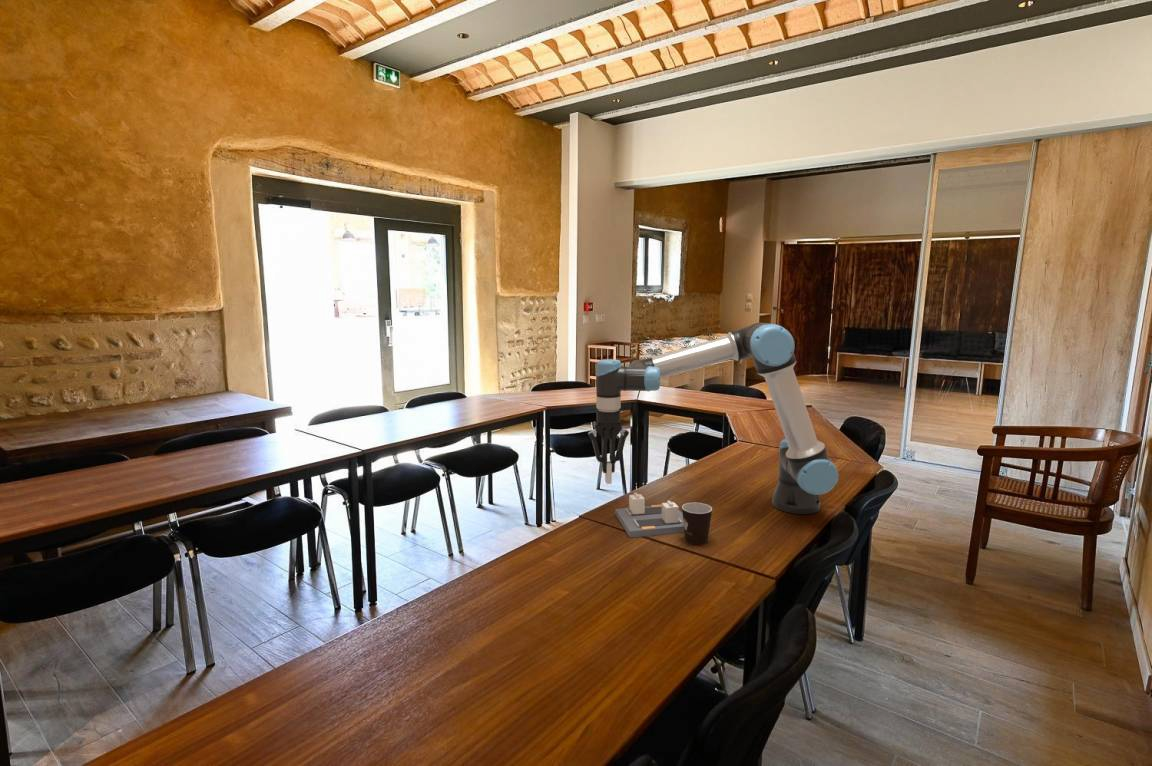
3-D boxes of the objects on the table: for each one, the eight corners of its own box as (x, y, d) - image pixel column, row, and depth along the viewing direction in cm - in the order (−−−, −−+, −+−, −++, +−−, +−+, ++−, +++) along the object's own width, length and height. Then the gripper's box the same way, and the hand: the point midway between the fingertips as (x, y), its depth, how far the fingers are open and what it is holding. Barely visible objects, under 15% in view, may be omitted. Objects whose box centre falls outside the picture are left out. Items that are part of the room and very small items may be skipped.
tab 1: (641, 508, 184) (641, 491, 184) (644, 513, 181) (644, 496, 180) (629, 509, 184) (629, 492, 183) (632, 514, 180) (632, 497, 179)
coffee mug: (711, 547, 161) (712, 514, 159) (680, 545, 162) (681, 512, 161) (710, 531, 172) (711, 499, 170) (681, 529, 174) (682, 498, 172)
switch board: (673, 509, 189) (673, 502, 189) (693, 531, 172) (693, 523, 171) (615, 514, 186) (615, 507, 186) (630, 537, 168) (630, 529, 168)
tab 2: (673, 517, 177) (674, 499, 176) (678, 522, 173) (678, 504, 172) (661, 518, 176) (661, 500, 175) (665, 523, 172) (666, 505, 172)
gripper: (625, 406, 180) (625, 477, 184) (585, 407, 178) (585, 479, 182) (632, 411, 173) (631, 484, 176) (590, 412, 170) (590, 487, 174)
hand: (608, 482), depth 179 cm, fingers closed
